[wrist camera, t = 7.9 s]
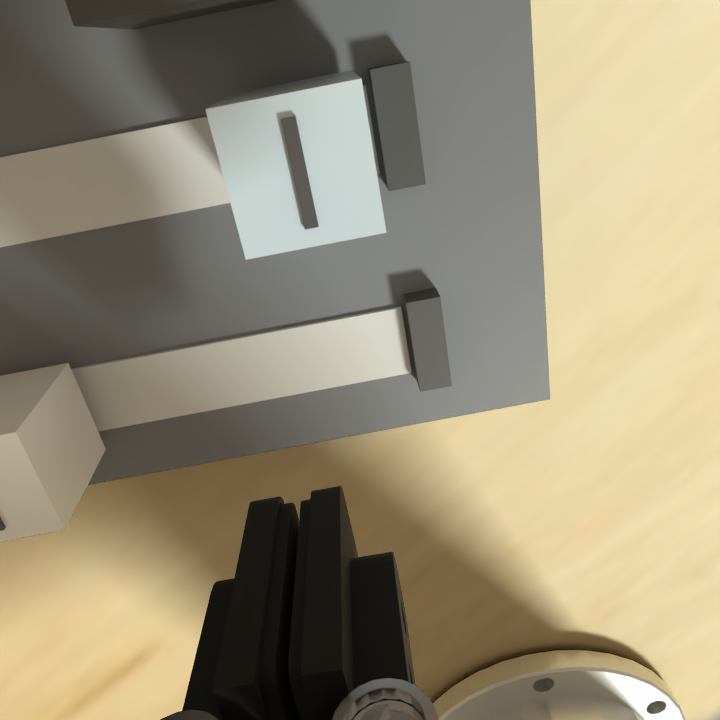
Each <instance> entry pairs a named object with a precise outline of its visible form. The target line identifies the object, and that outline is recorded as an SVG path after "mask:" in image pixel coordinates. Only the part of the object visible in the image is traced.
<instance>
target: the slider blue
mask: <svg viewBox="0 0 720 720" xmlns="http://www.w3.org/2000/svg"><path fill="white" fill-rule="evenodd" d="M205 110H206V114H207V118H208V121H209V125H210V129H211V132H212V136H213V140H214V144H215V147H216V151H217V155H218V158H219V162H220V166H221V170H222V173H223V177H224V181H225V184H226V188H227V192H228V196H229V199H230V203H231V207H232V211H233V214H234V218H235V222H236V225H237V229H238V233H239V237H240V240H241V244H242V248H243V251H244V255H245V259H246V260H247V259H253V258H258V257H263V256H268V255H273V254H279V253H284V252H289V251H294V250H299V249H305V248H310V247H315V246H320V245H325V244H331V243H336V242H341V241H346V240H351V239H357V238H362V237H367V236H372V235H377V234H383V233H386V226H385V220H384V214H383V208H382V202H381V196H380V189H379V183H378V177H377V171H376V165H375V158H374V152H373V146H372V140H371V134H370V128H369V121H368V115H367V109H366V103H365V97H364V91H363V84H362V78H360V77H359V76H358V75H357V74H356V73H354V72H353V71H352V70H350V71H345V72H340V73H335V74H330V75H325V76H320V77H315V78H310V79H305V80H299V81H294V82H289V83H284V84H279V85H274V86H269V87H264V88H259V89H254V90H249V91H244V92H239V93H234V94H229V95H227V96H225V97H224V98H222V99H221V100H219V101H217V102H216V103H214V104H213V105H211V106H210V107H208V108H207V109H205Z"/></svg>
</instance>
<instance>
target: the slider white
mask: <svg viewBox="0 0 720 720" xmlns="http://www.w3.org/2000/svg"><path fill="white" fill-rule="evenodd" d="M105 450H106V448H105V446H104V444H103V441H102V439H101V437H100V435H99V432H98V430H97V428H96V425H95V423H94V421H93V418H92V416H91V414H90V411H89V409H88V407H87V405H86V402H85V400H84V398H83V395H82V393H81V391H80V388H79V386H78V384H77V381H76V379H75V377H74V374H73V372H72V370H71V368H70V365H69V363H65V364H60V365H54V366H49V367H44V368H38V369H33V370H28V371H23V372H17V373H12V374H7V375H2V376H0V542H2V541H8V540H13V539H18V538H24V537H29V536H35V535H40V534H46V533H51V532H56V531H62V530H65V529H66V527H67V525H68V523H69V521H70V519H71V517H72V515H73V513H74V511H75V509H76V507H77V505H78V503H79V501H80V499H81V497H82V495H83V493H84V491H85V489H86V487H87V485H88V483H89V481H90V479H91V477H92V475H93V473H94V471H95V470H96V468H97V466H98V464H99V462H100V460H101V458H102V456H103V454H104V452H105Z"/></svg>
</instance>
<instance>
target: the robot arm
mask: <svg viewBox="0 0 720 720" xmlns="http://www.w3.org/2000/svg"><path fill="white" fill-rule="evenodd" d="M161 720H685V718H684V715H683V713H682V711H681V708H680V706H679V704H678V703H677V701H676V699H675V697H674V696H673V694H672V693H671V691H670V689H669V688H668V686H667V685H666V683H665V682H664V681H663V680H662V679H660V678H659V677H658V676H657V675H656V674H655V673H654V672H653V671H651V670H650V669H648V668H646V667H644V666H642V665H640V664H638V663H637V662H635V661H633V660H629V659H626V658H623V657H620V656H616V655H613V654H609V653H602V652H595V651H587V650H554V651H547V652H541V653H534V654H527V655H524V656H520V657H517V658H513V659H509V660H506V661H502V662H499V663H497V664H495V665H492V666H490V667H488V668H485V669H483V670H480V671H478V672H476V673H474V674H472V675H471V676H469V677H467V678H466V679H464V680H462V681H461V682H459V683H457V684H456V685H454V686H453V687H451V688H450V689H449V690H448V691H447V692H445V693H444V694H443V695H442V696H441V697H439V698H438V699H437V700H436V701H435V702H434V703H433V704H432V702H431V700H430V698H429V697H428V695H427V694H425V693H424V692H423V691H422V690H421V689H420V688H419V687H418V686H416V685H415V680H414V672H413V665H412V657H411V650H410V643H409V635H408V628H407V621H406V615H405V609H404V603H403V597H402V592H401V587H400V581H399V576H398V572H397V567H396V562H395V557H394V553H393V552H388V553H382V554H376V555H370V556H364V557H359V558H358V554H357V550H356V545H355V541H354V537H353V532H352V528H351V524H350V519H349V515H348V510H347V506H346V502H345V497H344V493H343V490H342V487H341V486H338V487H333V488H327V489H321V490H315V491H312V492H311V499H310V500H304V501H301V508H300V520H299V519H298V515H297V511H296V508H295V505H294V503H287V504H284V501H283V499H282V498H281V497H275V498H269V499H264V500H258V501H252V502H251V503H250V505H249V510H248V515H247V520H246V525H245V529H244V534H243V539H242V544H241V549H240V554H239V559H238V564H237V569H236V574H235V579H229V580H223V581H217V582H216V583H215V584H214V585H213V588H212V591H211V595H210V599H209V603H208V607H207V611H206V615H205V620H204V624H203V628H202V632H201V636H200V640H199V644H198V648H197V653H196V657H195V661H194V665H193V669H192V673H191V677H190V681H189V686H188V690H187V694H186V698H185V702H184V706H183V710H182V711H181V712H176V713H174V714H172V715H169V716H167V717H165V718H162V719H161Z"/></svg>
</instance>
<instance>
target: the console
mask: <svg viewBox="0 0 720 720" xmlns="http://www.w3.org/2000/svg"><path fill="white" fill-rule="evenodd" d="M350 70H352V71H353V72H354V73H356V74H357V75H358V76H359V77H360V78H362V84H363V91H364V97H365V103H366V109H367V115H368V121H369V128H370V134H371V140H372V146H373V152H374V158H375V165H376V171H377V177H378V183H379V189H380V196H381V202H382V208H383V214H384V220H385V226H386V233H383V234H377V235H372V236H367V237H362V238H357V239H351V240H346V241H341V242H336V243H331V244H325V245H320V246H315V247H310V248H305V249H299V250H294V251H289V252H284V253H279V254H273V255H268V256H263V257H258V258H253V259H247V260H246V259H245V255H244V251H243V248H242V244H241V240H240V237H239V233H238V229H237V225H236V222H235V218H234V214H233V211H232V207H231V203H230V199H229V196H228V192H227V188H226V184H225V181H224V177H223V173H222V170H221V166H220V162H219V158H218V155H217V151H216V147H215V144H214V140H213V136H212V132H211V129H210V125H209V121H208V118H207V114H206V110H205V109H207V108H208V107H210V106H211V105H213V104H214V103H216V102H217V101H219V100H221V99H222V98H224V97H225V96H227V95H229V94H234V93H239V92H244V91H249V90H254V89H259V88H264V87H269V86H274V85H279V84H284V83H289V82H294V81H299V80H305V79H310V78H315V77H320V76H325V75H330V74H335V73H340V72H345V71H350ZM65 363H69V365H70V368H71V370H72V372H73V374H74V377H75V379H76V381H77V384H78V386H79V388H80V391H81V393H82V395H83V398H84V400H85V402H86V405H87V407H88V409H89V411H90V414H91V416H92V418H93V421H94V423H95V425H96V428H97V430H98V432H99V435H100V437H101V439H102V441H103V444H104V446H105V448H106V450H105V452H104V454H103V456H102V458H101V460H100V462H99V464H98V466H97V468H96V470H95V471H94V473H93V475H92V477H91V479H90V481H89V483H88V485H90V484H95V483H101V482H106V481H111V480H117V479H122V478H128V477H133V476H138V475H144V474H149V473H155V472H160V471H165V470H171V469H176V468H182V467H187V466H192V465H198V464H203V463H208V462H214V461H219V460H225V459H230V458H235V457H241V456H246V455H252V454H257V453H262V452H268V451H273V450H279V449H284V448H289V447H295V446H300V445H306V444H311V443H316V442H322V441H327V440H333V439H338V438H343V437H349V436H354V435H359V434H365V433H370V432H376V431H381V430H386V429H392V428H397V427H403V426H408V425H413V424H419V423H424V422H430V421H435V420H440V419H446V418H451V417H457V416H462V415H467V414H473V413H478V412H484V411H489V410H494V409H500V408H505V407H511V406H516V405H521V404H527V403H532V402H537V401H543V400H548V399H550V388H549V368H548V348H547V328H546V307H545V287H544V267H543V247H542V227H541V207H540V186H539V166H538V146H537V126H536V106H535V85H534V65H533V45H532V25H531V5H530V0H0V376H2V375H7V374H12V373H17V372H23V371H28V370H33V369H38V368H44V367H49V366H54V365H60V364H65Z"/></svg>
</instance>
